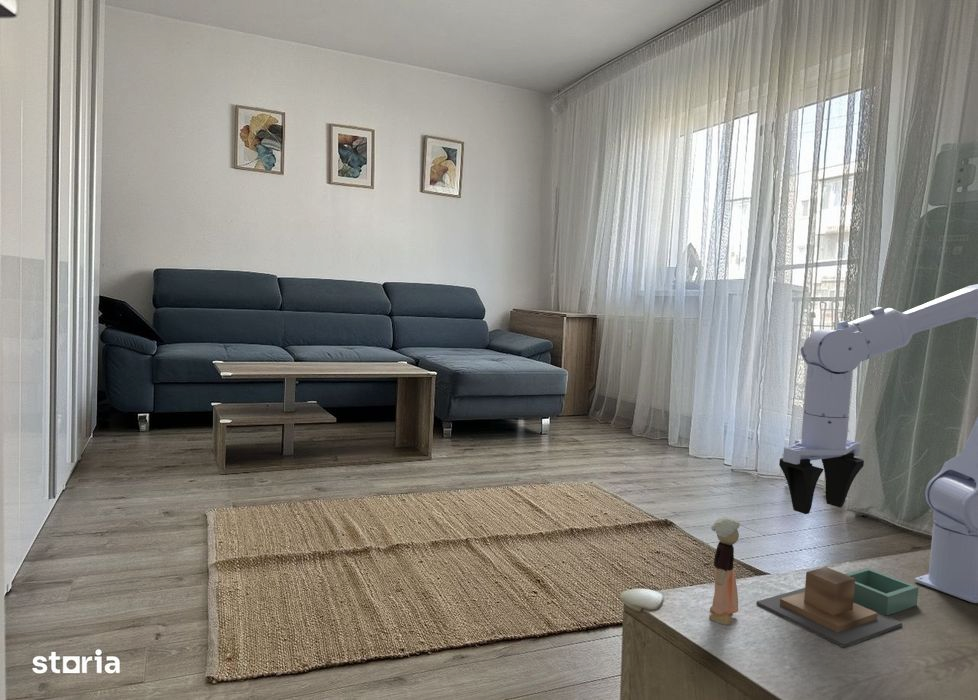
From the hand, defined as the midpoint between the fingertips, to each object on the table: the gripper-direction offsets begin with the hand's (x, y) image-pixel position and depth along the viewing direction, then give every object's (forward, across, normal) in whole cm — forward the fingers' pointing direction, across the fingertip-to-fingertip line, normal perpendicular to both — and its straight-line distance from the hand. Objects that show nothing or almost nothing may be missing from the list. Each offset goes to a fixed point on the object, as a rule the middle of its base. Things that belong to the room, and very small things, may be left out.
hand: (818, 508), depth 96 cm
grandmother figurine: (+11, +21, +2) cm, 24 cm away
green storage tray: (+10, -2, +8) cm, 13 cm away
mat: (+10, +8, +8) cm, 16 cm away
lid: (+10, +8, +8) cm, 15 cm away
